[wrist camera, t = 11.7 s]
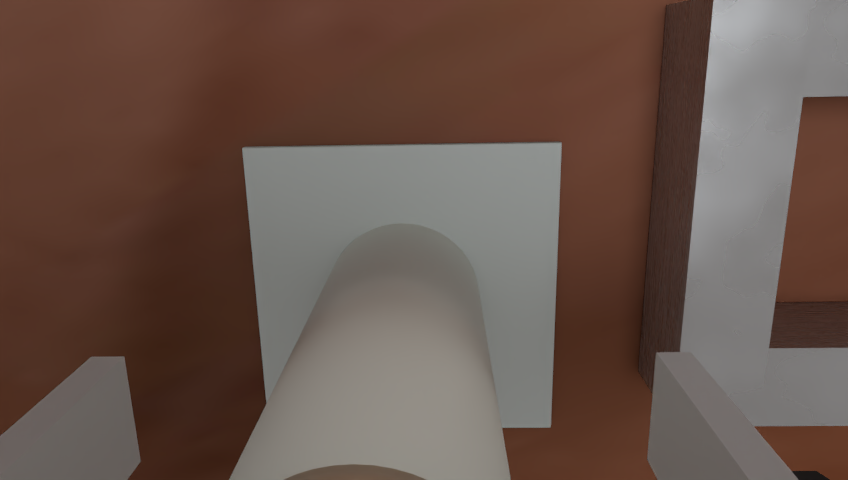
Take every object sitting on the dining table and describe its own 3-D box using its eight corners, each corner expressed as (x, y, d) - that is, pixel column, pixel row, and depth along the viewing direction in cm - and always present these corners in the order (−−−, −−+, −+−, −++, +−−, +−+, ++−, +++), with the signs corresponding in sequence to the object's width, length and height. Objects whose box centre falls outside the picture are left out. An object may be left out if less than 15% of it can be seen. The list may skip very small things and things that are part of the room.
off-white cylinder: (332, 364, 23) (202, 748, 10) (324, 224, 21) (160, 467, 9) (478, 363, 22) (528, 750, 10) (478, 222, 21) (537, 466, 9)
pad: (270, 424, 24) (268, 429, 23) (244, 146, 21) (242, 147, 21) (549, 422, 23) (550, 427, 23) (559, 141, 21) (561, 142, 20)
